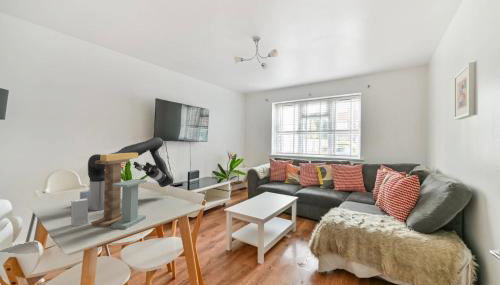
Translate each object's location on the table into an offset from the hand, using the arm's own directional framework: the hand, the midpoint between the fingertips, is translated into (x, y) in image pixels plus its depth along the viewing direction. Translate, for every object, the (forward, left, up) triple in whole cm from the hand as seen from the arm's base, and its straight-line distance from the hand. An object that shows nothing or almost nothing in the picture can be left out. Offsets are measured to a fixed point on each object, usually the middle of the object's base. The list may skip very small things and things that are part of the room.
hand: (140, 163), depth 127 cm
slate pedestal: (+10, -20, -28) cm, 36 cm away
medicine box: (-38, +1, -29) cm, 48 cm away
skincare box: (-12, -27, -29) cm, 41 cm away
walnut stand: (0, -20, -28) cm, 35 cm away
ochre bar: (0, -15, +4) cm, 16 cm away
